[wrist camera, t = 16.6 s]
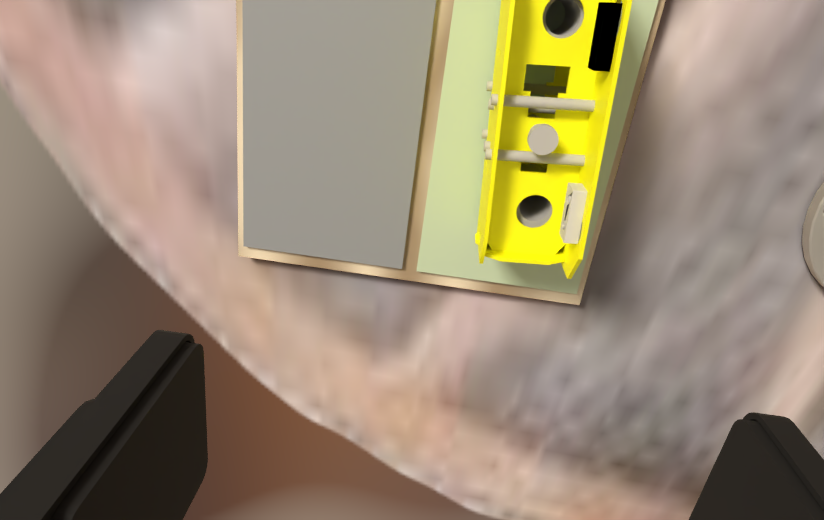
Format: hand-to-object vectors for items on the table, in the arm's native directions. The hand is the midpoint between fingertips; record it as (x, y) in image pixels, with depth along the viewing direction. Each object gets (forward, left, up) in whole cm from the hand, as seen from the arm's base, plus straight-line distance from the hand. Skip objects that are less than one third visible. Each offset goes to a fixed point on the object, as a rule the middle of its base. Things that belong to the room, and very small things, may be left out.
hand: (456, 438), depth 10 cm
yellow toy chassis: (-4, -2, -27) cm, 28 cm away
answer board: (+2, 0, -29) cm, 29 cm away
